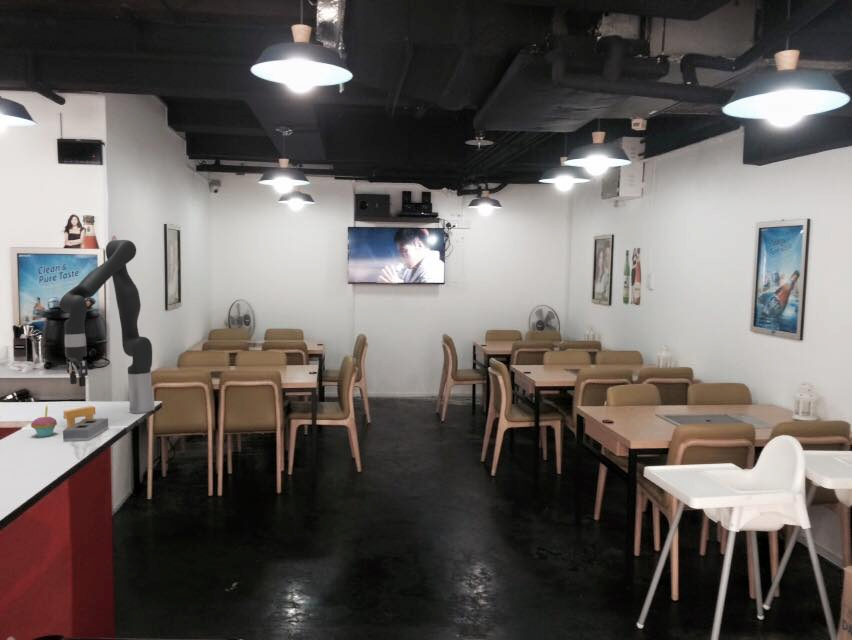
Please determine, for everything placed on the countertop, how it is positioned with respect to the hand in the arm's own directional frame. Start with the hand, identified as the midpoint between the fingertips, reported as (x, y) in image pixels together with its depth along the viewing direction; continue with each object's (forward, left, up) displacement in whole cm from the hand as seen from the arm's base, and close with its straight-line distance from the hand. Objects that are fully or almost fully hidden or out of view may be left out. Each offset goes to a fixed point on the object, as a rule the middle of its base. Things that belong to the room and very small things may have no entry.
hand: (77, 385), depth 266 cm
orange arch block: (0, 0, -17) cm, 17 cm away
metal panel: (+4, +16, -17) cm, 23 cm away
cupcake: (+15, +4, -17) cm, 23 cm away
